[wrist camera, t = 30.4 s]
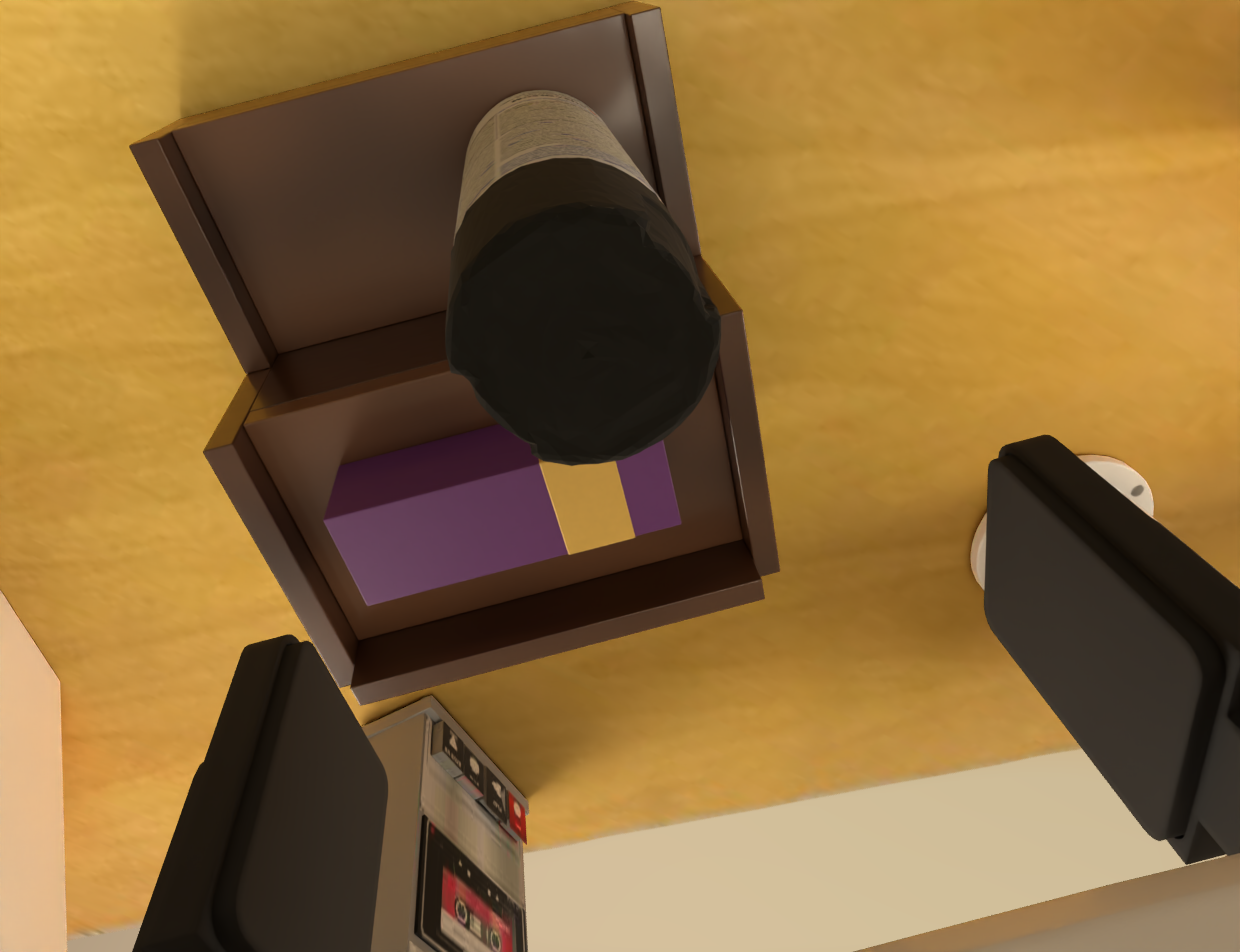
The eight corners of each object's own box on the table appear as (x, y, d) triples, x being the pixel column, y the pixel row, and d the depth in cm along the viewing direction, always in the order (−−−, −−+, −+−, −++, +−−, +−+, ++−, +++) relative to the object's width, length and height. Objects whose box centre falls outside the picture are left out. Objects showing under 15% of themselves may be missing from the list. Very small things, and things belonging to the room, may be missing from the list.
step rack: (712, 433, 50) (791, 592, 37) (371, 523, 50) (334, 713, 37) (634, 0, 38) (712, 19, 25) (179, 119, 38) (25, 198, 25)
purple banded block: (663, 473, 37) (682, 526, 33) (378, 547, 37) (367, 608, 33) (643, 383, 34) (661, 431, 31) (338, 463, 34) (321, 520, 31)
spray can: (531, 276, 38) (569, 521, 22) (428, 154, 35) (378, 330, 18) (647, 184, 37) (785, 369, 20) (551, 48, 34) (621, 132, 17)
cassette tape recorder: (530, 797, 65) (555, 1197, 44) (462, 827, 66) (454, 1235, 45) (434, 690, 58) (409, 1108, 37) (359, 725, 58) (291, 1155, 37)
